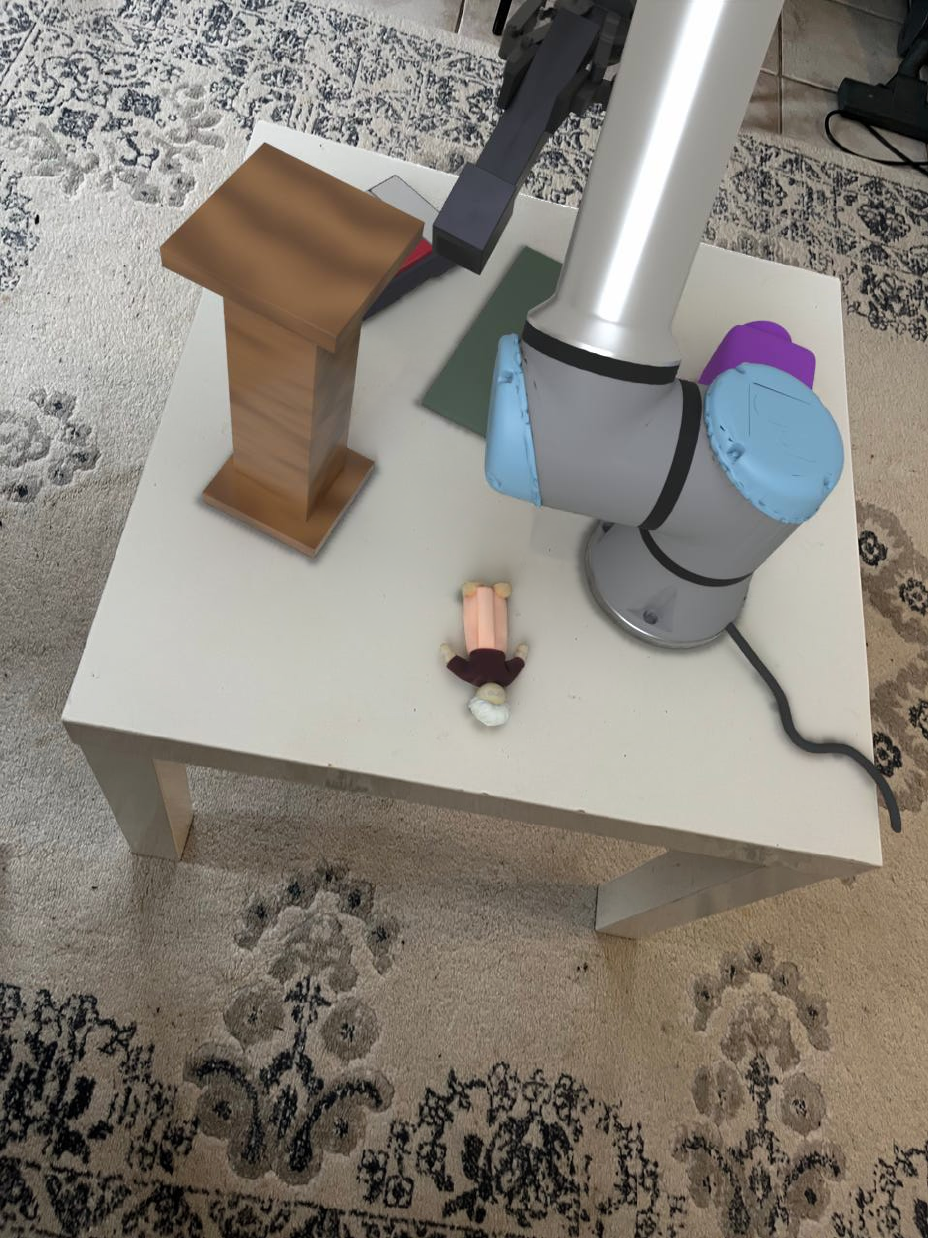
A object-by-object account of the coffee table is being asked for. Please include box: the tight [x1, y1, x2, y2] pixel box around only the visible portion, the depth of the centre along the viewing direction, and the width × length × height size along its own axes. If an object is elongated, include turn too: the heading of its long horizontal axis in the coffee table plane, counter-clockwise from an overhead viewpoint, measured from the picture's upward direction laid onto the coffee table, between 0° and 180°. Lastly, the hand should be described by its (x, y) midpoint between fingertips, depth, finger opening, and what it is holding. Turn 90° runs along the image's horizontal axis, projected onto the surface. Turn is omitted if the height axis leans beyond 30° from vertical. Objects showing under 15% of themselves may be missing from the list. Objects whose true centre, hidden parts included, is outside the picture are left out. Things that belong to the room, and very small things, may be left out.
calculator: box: [362, 174, 457, 322], centre depth 93 cm, size 11×4×15 cm
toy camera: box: [697, 320, 817, 391], centre depth 90 cm, size 11×14×10 cm
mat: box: [421, 245, 563, 438], centre depth 93 cm, size 26×11×1 cm, turn 155°
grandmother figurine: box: [439, 581, 530, 727], centre depth 75 cm, size 8×4×13 cm
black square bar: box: [432, 7, 601, 276], centre depth 72 cm, size 22×4×4 cm, turn 155°
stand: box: [159, 141, 425, 560], centre depth 68 cm, size 12×12×28 cm
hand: (530, 103), depth 70 cm, fingers closed on black square bar, 4 cm apart
